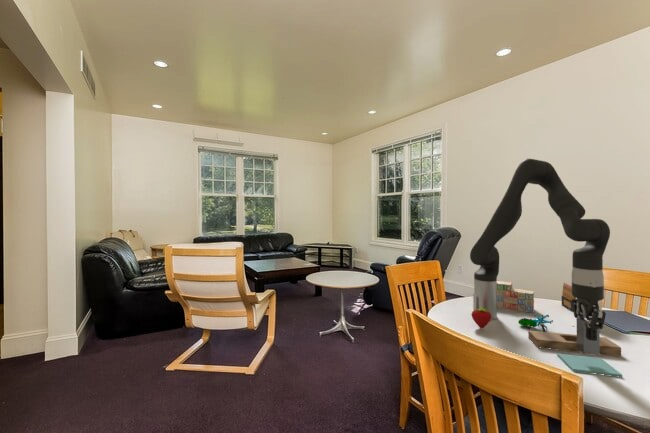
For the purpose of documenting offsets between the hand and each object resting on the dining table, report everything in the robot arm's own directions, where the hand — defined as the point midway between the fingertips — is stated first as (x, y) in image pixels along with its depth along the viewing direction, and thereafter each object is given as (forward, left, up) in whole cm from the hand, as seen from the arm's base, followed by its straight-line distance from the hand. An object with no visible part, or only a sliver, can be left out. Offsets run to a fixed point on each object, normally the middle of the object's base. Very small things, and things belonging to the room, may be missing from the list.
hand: (587, 336), depth 91 cm
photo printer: (+21, +40, -9) cm, 46 cm away
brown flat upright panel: (+22, +62, -9) cm, 66 cm away
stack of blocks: (-6, +58, -10) cm, 59 cm away
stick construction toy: (-4, +29, -10) cm, 31 cm away
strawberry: (-25, +24, -9) cm, 36 cm away
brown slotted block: (+2, +14, -9) cm, 17 cm away
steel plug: (0, 0, -5) cm, 5 cm away
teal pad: (0, 0, -9) cm, 9 cm away
